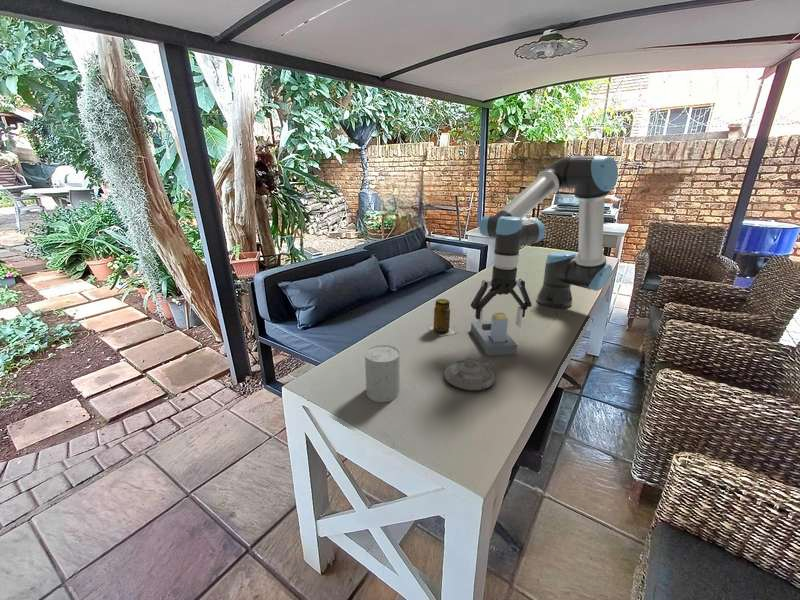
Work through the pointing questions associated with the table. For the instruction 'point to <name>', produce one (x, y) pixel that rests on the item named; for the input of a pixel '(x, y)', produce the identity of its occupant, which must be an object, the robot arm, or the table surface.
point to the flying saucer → (469, 375)
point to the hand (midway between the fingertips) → (498, 326)
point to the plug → (498, 328)
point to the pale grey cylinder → (382, 373)
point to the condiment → (442, 318)
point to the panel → (487, 345)
